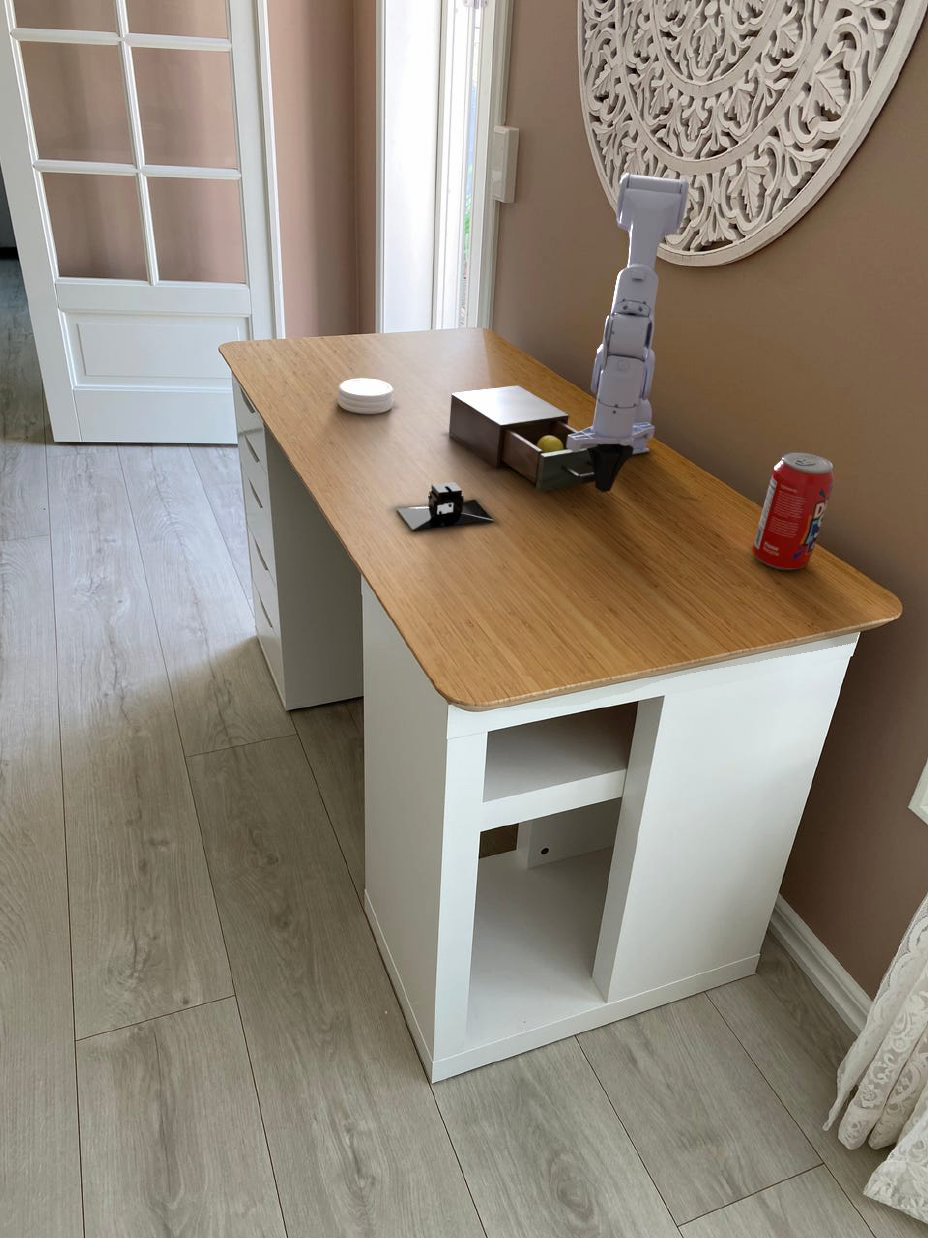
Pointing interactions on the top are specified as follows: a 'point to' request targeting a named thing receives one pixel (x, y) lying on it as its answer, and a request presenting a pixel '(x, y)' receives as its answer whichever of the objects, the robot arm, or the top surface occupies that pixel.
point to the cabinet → (496, 418)
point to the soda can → (793, 510)
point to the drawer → (546, 456)
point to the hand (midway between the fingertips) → (602, 489)
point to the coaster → (365, 396)
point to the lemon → (550, 444)
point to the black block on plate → (444, 510)
